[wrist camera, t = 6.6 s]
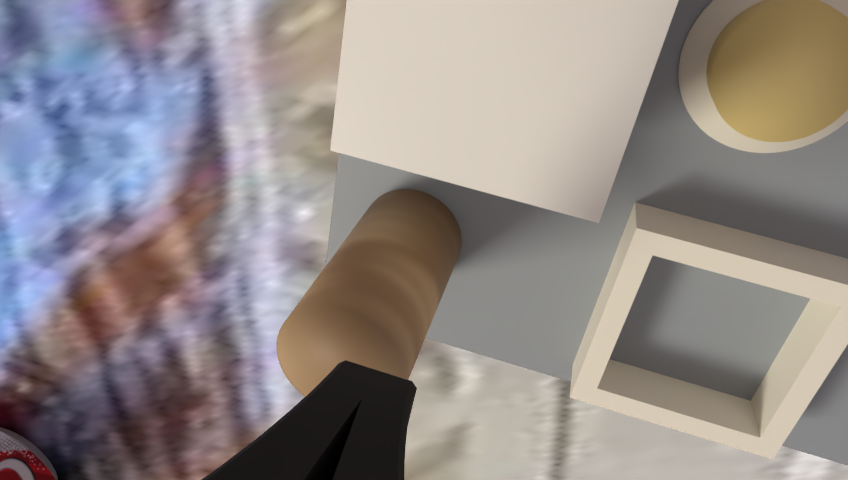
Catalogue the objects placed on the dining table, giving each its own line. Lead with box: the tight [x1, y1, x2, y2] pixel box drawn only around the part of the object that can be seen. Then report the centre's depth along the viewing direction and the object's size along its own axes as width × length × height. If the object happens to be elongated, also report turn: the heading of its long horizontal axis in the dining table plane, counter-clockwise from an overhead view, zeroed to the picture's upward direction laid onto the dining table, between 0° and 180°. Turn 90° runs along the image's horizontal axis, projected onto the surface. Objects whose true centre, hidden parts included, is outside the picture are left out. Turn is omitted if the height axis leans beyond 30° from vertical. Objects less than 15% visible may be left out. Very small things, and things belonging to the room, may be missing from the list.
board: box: [326, 0, 848, 465], centre depth 17 cm, size 18×14×3 cm
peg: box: [277, 189, 462, 397], centre depth 17 cm, size 3×3×6 cm
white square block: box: [330, 0, 679, 223], centre depth 14 cm, size 6×6×4 cm
